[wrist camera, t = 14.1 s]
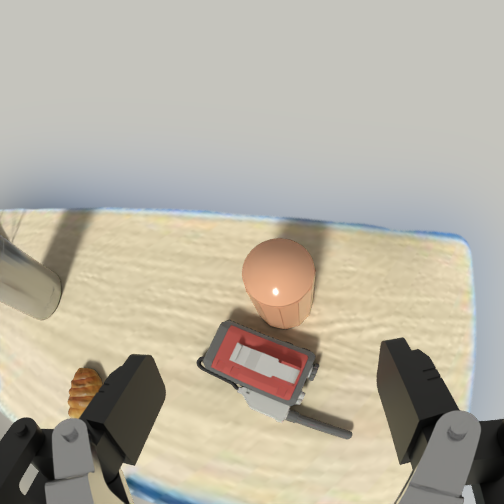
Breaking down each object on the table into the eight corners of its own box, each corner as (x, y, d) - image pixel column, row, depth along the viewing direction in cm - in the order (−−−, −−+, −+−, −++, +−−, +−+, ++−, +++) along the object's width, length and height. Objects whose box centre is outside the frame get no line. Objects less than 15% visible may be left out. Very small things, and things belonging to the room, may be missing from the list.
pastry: (75, 370, 35) (58, 366, 32) (108, 367, 35) (92, 363, 32) (81, 429, 31) (64, 429, 28) (116, 431, 31) (99, 433, 27)
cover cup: (251, 321, 35) (233, 296, 26) (265, 272, 38) (253, 233, 29) (304, 333, 33) (305, 312, 24) (316, 282, 36) (320, 245, 27)
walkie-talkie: (192, 379, 33) (346, 442, 27) (178, 377, 29) (352, 449, 23) (222, 318, 36) (374, 374, 30) (212, 308, 32) (384, 372, 26)
